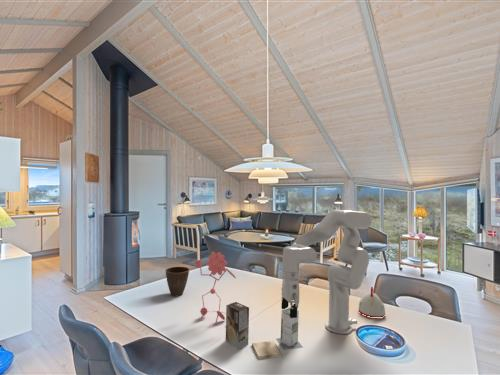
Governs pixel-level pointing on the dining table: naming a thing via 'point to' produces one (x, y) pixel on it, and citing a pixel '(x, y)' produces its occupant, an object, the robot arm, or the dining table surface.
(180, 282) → the plant pot
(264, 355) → the tray
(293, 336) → the syrup box
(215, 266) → the figurine
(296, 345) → the plaque
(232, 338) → the coffee box
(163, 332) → the dining table surface
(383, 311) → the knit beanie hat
